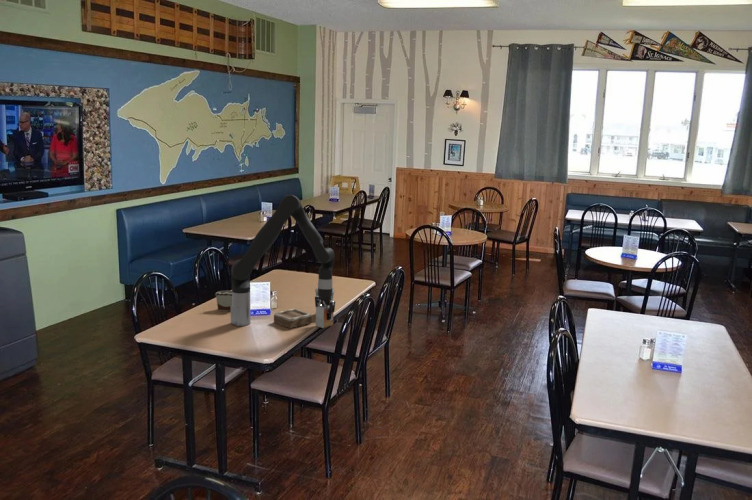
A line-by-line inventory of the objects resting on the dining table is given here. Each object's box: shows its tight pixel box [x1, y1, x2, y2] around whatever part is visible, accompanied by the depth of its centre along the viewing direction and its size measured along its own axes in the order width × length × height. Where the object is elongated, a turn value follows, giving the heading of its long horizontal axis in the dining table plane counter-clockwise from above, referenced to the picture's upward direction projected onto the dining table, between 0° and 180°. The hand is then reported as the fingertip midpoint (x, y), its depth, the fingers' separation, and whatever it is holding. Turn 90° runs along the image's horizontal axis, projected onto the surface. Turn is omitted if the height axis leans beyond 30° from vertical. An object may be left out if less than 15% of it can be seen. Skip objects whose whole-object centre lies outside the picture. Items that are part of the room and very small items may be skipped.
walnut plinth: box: [273, 308, 313, 329], centre depth 338 cm, size 14×14×5 cm
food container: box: [214, 290, 232, 312], centre depth 358 cm, size 12×6×10 cm, turn 84°
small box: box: [315, 306, 334, 329], centre depth 334 cm, size 8×6×10 cm
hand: (324, 318), depth 335 cm, fingers closed on small box, 6 cm apart
